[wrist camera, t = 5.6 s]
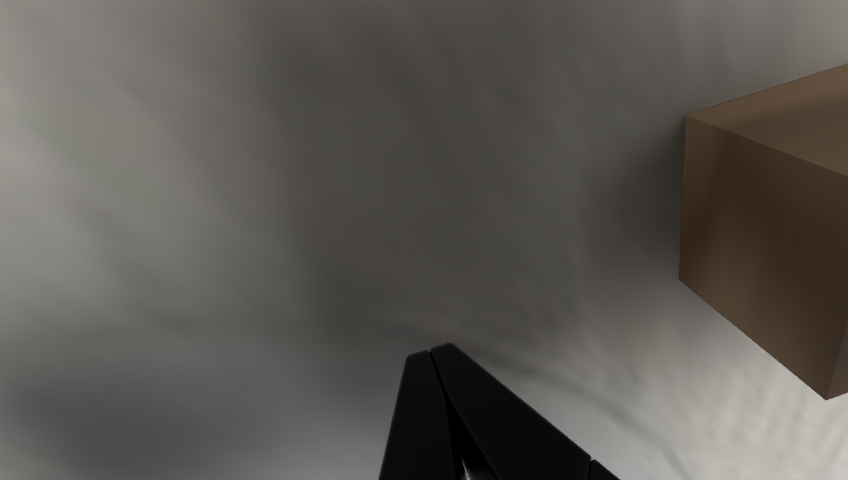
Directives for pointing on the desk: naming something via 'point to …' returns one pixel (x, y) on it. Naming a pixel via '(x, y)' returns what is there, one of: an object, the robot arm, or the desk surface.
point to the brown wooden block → (774, 221)
